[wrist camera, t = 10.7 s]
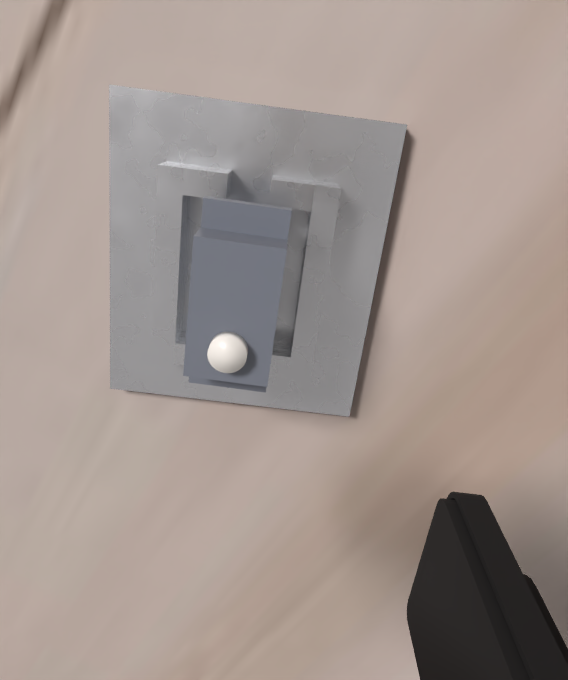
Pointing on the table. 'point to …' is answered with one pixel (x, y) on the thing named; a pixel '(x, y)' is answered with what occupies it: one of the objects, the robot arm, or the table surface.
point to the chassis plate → (257, 187)
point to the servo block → (235, 293)
